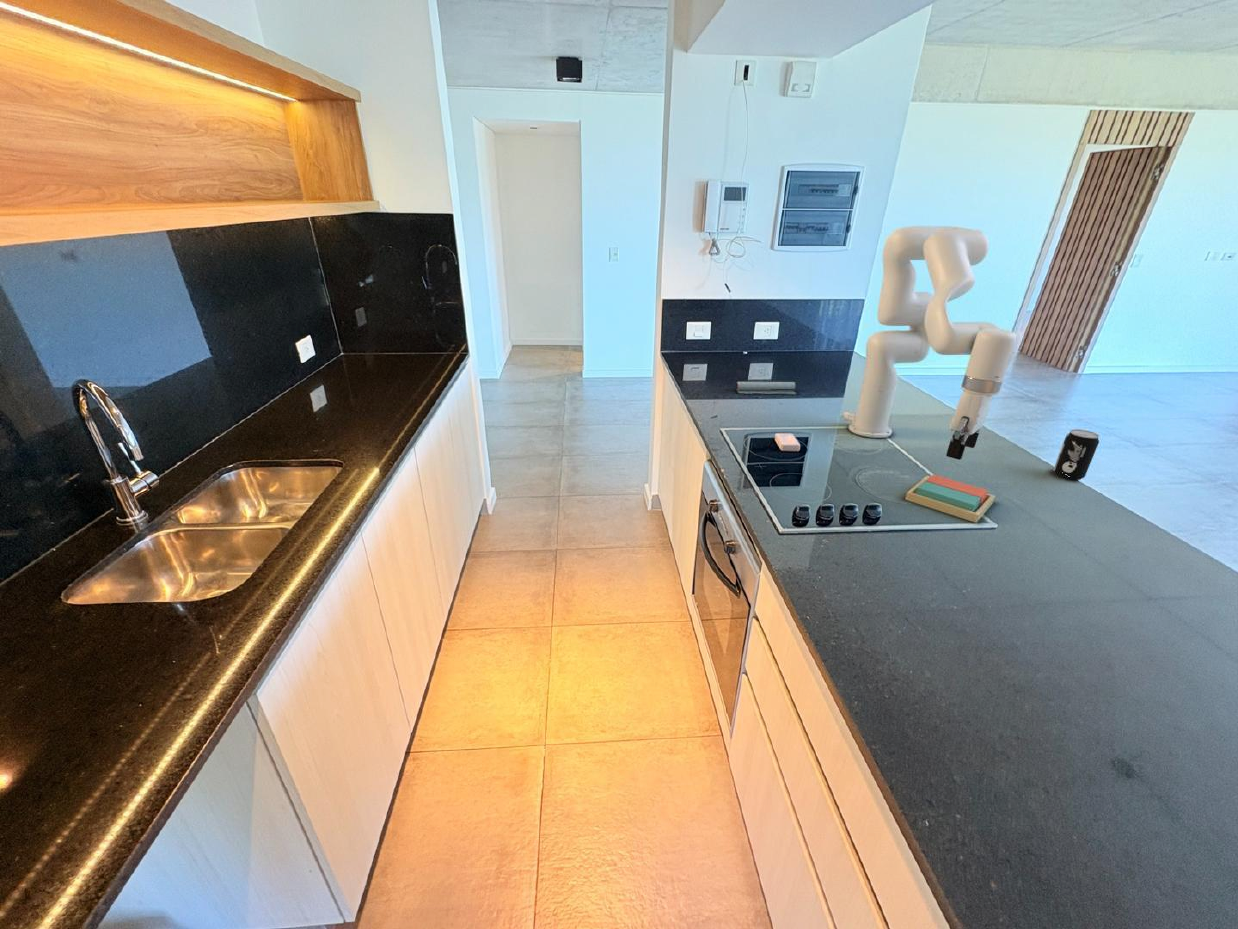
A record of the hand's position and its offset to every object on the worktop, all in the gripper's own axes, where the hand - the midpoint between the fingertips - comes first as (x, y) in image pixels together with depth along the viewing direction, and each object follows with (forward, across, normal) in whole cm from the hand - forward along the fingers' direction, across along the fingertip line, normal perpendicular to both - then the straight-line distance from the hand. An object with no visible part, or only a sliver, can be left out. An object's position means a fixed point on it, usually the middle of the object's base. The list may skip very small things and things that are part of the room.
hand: (960, 451), depth 129 cm
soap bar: (+11, +6, -43) cm, 44 cm away
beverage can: (+10, -30, +19) cm, 37 cm away
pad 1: (+9, +11, +2) cm, 15 cm away
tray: (+10, +8, +2) cm, 13 cm away
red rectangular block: (+9, +6, +3) cm, 11 cm away
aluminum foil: (+10, -38, -78) cm, 87 cm away
